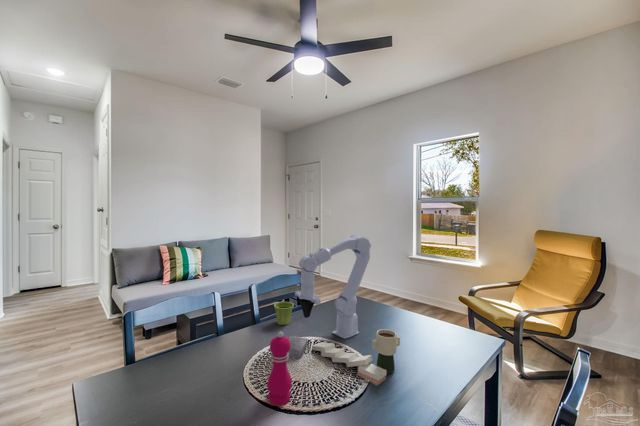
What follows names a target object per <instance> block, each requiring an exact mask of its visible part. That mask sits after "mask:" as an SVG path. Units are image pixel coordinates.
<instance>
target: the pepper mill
mask: <svg viewBox="0 0 640 426" xmlns="http://www.w3.org/2000/svg"><path fill="white" fill-rule="evenodd" d="M288 338H289V337H287V336H284V332H283V331H279V332H277V336H274V337H273V338H272V339H271V341H270V343H269V349H270V352H271V353H270V355H271V357H270V359H271V360H272V369H271V372H270V373H269V376H268V378H267V383H266V389H267V391H268V402H269V403H270V404H271V405H272V406H283V405H285V404H287V403H288V402H289V401H290V398H291V391H290V390H291V389H292V387H293V386H292V385H293V382H292V378H291V374H290V372H289V369H288V366H287V365H288V364H287V362H288V359H290V358H289V356H288V355H289V353H288V351H289V350H290V341H289V339H288Z"/></svg>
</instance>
